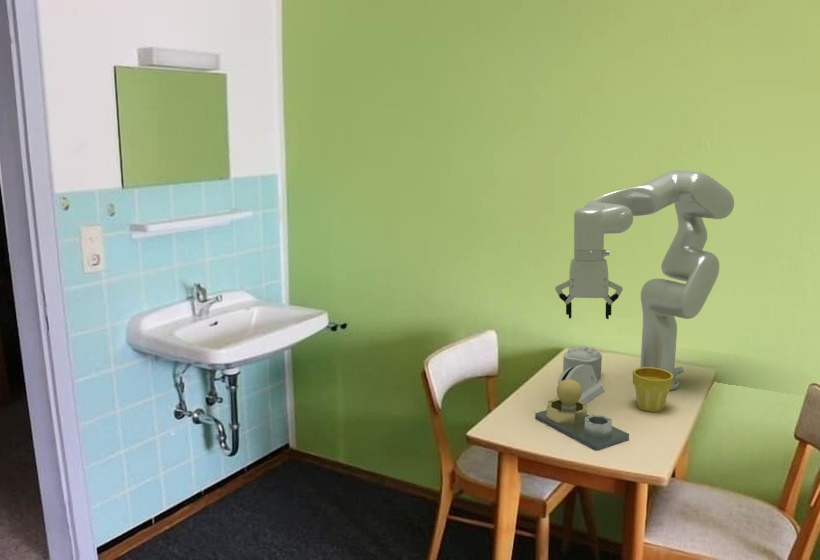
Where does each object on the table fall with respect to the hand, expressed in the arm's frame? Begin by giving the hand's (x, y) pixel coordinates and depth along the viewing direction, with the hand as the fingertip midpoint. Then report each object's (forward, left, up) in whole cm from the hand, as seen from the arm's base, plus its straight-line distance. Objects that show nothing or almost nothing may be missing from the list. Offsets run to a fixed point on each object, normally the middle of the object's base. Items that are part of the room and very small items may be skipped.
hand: (588, 317), depth 187 cm
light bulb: (+11, +6, -24) cm, 27 cm away
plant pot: (-14, +11, -25) cm, 31 cm away
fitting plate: (+12, +11, -25) cm, 30 cm away
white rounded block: (-3, -5, -26) cm, 26 cm away
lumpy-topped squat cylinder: (-16, -17, -25) cm, 35 cm away
